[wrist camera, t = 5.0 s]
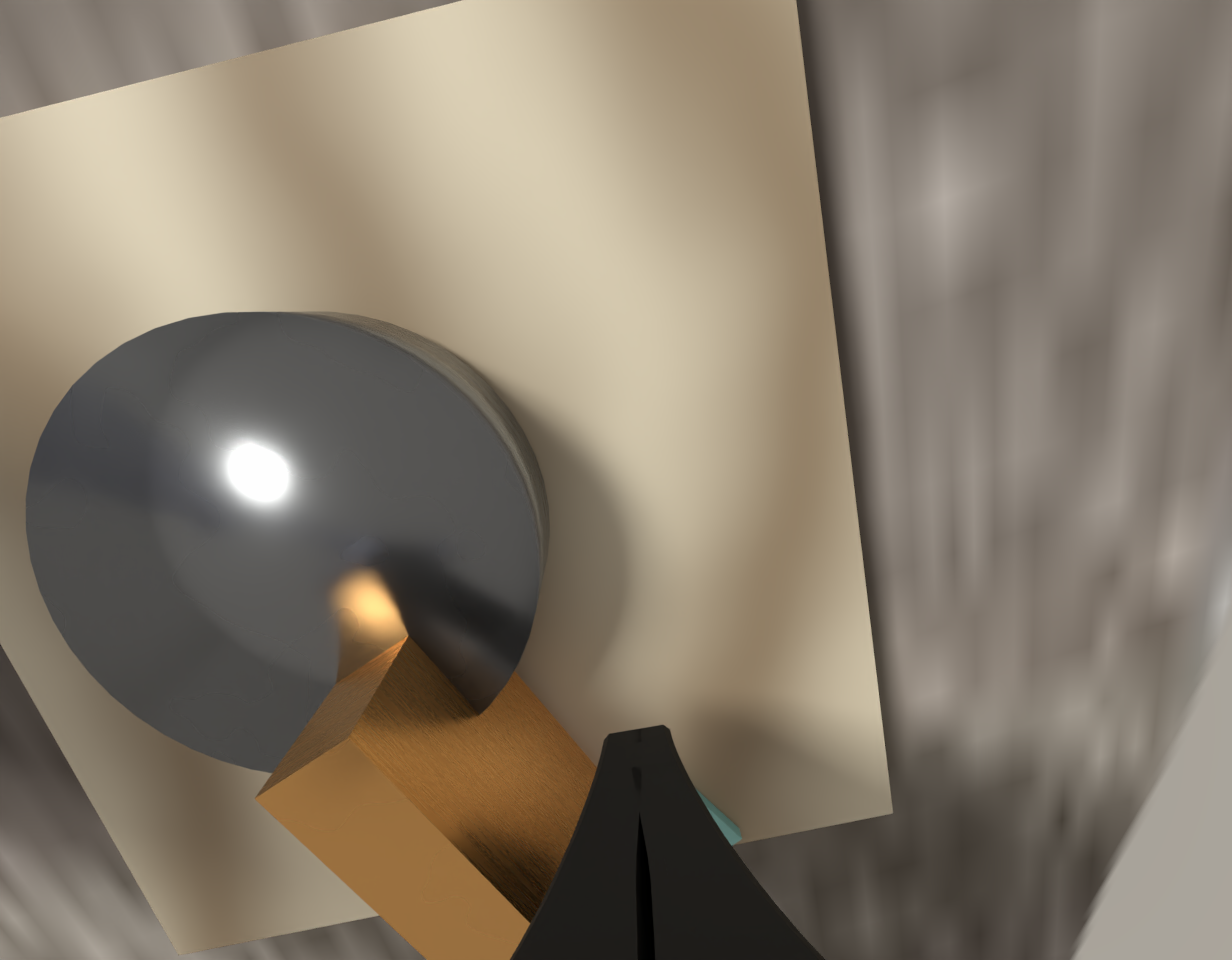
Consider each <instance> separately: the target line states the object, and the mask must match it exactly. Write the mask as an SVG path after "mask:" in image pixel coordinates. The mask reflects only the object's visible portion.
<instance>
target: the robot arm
mask: <svg viewBox="0 0 1232 960" xmlns="http://www.w3.org/2000/svg"><path fill="white" fill-rule="evenodd" d="M510 960H825V959H824V958H823V957H822V956H821V955H820V954H819V953H818V952H817V950H816V949H815V948H814V947H813V946H812V945H811V944H810V943H809V942H808V941H807V940H806V939H805V938H804V937H803V935H802V934H801V933H800V932H799V931H798V930H797V929H796V927H795V926H794V925H793V924H792V923H791V922H790V920H789V919H788V918H787V917H786V916H785V915H784V913H783V912H782V911H781V910H780V909H779V908H778V906H777V905H776V904H775V903H774V901H773V900H772V899H771V898H770V896H769V895H768V894H767V893H766V891H765V890H764V889H763V888H762V886H761V885H760V884H759V883H758V881H757V880H756V879H755V877H754V876H753V875H752V873H751V872H750V871H749V869H748V868H747V867H746V865H745V864H744V863H743V861H742V860H741V859H740V857H739V856H738V854H737V853H736V851H735V850H734V849H733V847H732V846H731V844H730V843H729V841H728V840H727V838H726V837H725V836H724V834H723V833H722V831H721V830H720V828H719V826H718V825H717V823H716V822H715V820H714V819H713V817H712V815H711V814H710V812H709V810H708V809H707V807H706V805H705V804H704V802H703V800H702V799H701V797H700V795H699V794H698V792H697V790H696V789H695V787H694V785H693V783H692V781H691V779H690V778H689V776H688V774H687V772H686V770H685V768H684V765H683V763H682V761H681V759H680V757H679V755H678V752H677V750H676V747H675V745H674V742H673V739H672V735H671V731H670V729H669V728H668V727H666V726H665V725H658V726H652V727H646V728H640V729H634V730H628V731H622V732H616V733H610V734H608V735H607V737H606V738H605V739H604V741H603V746H602V751H601V755H600V759H599V762H598V766H597V769H596V772H595V776H594V779H593V782H592V785H591V788H590V791H589V794H588V797H587V799H586V802H585V804H584V807H583V810H582V812H581V815H580V818H579V820H578V823H577V825H576V828H575V831H574V833H573V835H572V838H571V840H570V843H569V845H568V847H567V849H566V851H565V854H564V856H563V858H562V860H561V862H560V865H559V867H558V869H557V871H556V874H555V876H554V878H553V880H552V882H551V884H550V886H549V888H548V890H547V892H546V894H545V896H544V898H543V900H542V902H541V904H540V906H539V908H538V910H537V912H536V914H535V916H534V918H533V920H532V921H531V923H530V925H529V927H528V929H527V930H526V932H525V934H524V936H523V938H522V940H521V941H520V943H519V945H518V947H517V948H516V950H515V952H514V953H513V955H512V957H511V958H510Z"/></svg>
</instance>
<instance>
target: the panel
mask: <svg viewBox="0 0 1232 960" xmlns="http://www.w3.org/2000/svg"><path fill="white" fill-rule="evenodd" d="M311 311H330V312H338V313H347V314H355V315H361V316H365V317H369V318H373V319H377V320H381V321H385V322H389V323H391V324H394V325H396V326H399V327H401V328H404V329H407V330H409V331H412V332H414V333H417V334H419V335H420V336H422V337H424V338H426V339H428V340H430V341H432V342H433V343H435V344H437V345H439V346H441V347H443V348H444V349H446V350H447V351H448V352H450V353H451V354H453V355H454V356H455V357H457V358H458V359H460V360H461V361H462V362H464V363H465V364H467V365H468V366H469V367H470V368H471V369H472V370H473V371H475V372H476V373H477V374H478V375H479V376H480V377H481V378H482V379H483V380H484V381H485V382H487V383H488V384H489V385H490V386H491V388H492V389H493V390H494V391H495V392H496V393H497V395H498V396H499V397H500V398H501V399H502V401H503V402H504V403H505V404H506V405H507V406H508V408H509V409H510V411H511V412H512V414H513V415H514V417H515V418H516V420H517V421H518V423H519V424H520V426H521V428H522V429H523V431H524V433H525V435H526V437H527V439H528V441H529V443H530V445H531V447H532V449H533V451H534V453H535V455H536V458H537V461H538V464H539V467H540V470H541V473H542V476H543V479H544V484H545V489H546V494H547V500H548V505H549V522H550V537H549V547H548V557H547V562H546V566H545V571H544V576H543V580H542V585H541V590H540V594H539V599H538V604H537V608H536V612H535V617H534V621H533V625H532V629H531V633H530V637H529V639H528V642H527V644H526V647H525V649H524V652H523V654H522V657H521V659H520V662H519V663H518V665H517V667H516V669H515V670H514V671H515V672H516V673H517V674H518V676H519V677H520V678H521V679H522V680H523V681H524V683H525V684H526V685H527V686H528V687H529V688H530V690H531V691H532V692H533V693H534V694H535V695H536V697H537V698H538V699H539V700H540V701H541V702H542V704H543V705H544V706H545V707H546V708H547V710H548V711H549V712H550V713H551V714H552V715H553V717H554V718H555V719H556V720H557V721H558V722H559V724H560V725H561V726H562V727H563V728H564V729H565V731H566V732H567V733H568V734H569V735H570V736H571V738H572V739H573V740H574V741H575V742H576V744H577V745H578V746H579V747H580V748H581V749H582V751H583V752H584V753H585V754H586V755H587V756H588V758H589V759H590V760H591V761H592V762H593V763H594V765H595V766H596V767H597V766H598V762H599V759H600V755H601V751H602V746H603V741H604V739H605V738H606V737H607V735H608V734H610V733H616V732H622V731H628V730H634V729H640V728H646V727H652V726H658V725H665V726H666V727H668V728H669V729H670V731H671V735H672V739H673V742H674V745H675V747H676V750H677V752H678V755H679V757H680V759H681V761H682V763H683V765H684V768H685V770H686V772H687V774H688V776H689V778H690V779H691V781H692V783H693V785H694V787H695V788H696V789H697V790H698V791H699V792H700V793H701V794H702V795H703V796H704V797H706V798H707V799H708V800H709V801H710V802H711V803H712V804H713V805H714V806H715V807H716V808H718V809H719V810H720V811H721V812H722V813H723V814H724V815H725V816H726V817H727V818H729V819H730V820H731V821H732V822H733V823H734V824H735V825H736V826H737V827H738V828H739V829H740V833H741V837H742V839H741V840H740V841H738V842H737V843H736V844H734V845H737V844H742V843H747V842H752V841H757V840H762V839H767V838H772V837H777V836H782V835H787V834H792V833H797V832H802V831H807V830H812V829H817V828H823V827H828V826H833V825H838V824H843V823H848V822H853V821H858V820H863V819H868V818H873V817H878V816H883V815H888V814H893V808H892V800H891V792H890V783H889V775H888V766H887V758H886V750H885V741H884V733H883V725H882V716H881V708H880V699H879V691H878V683H877V674H876V666H875V657H874V649H873V641H872V632H871V624H870V615H869V607H868V599H867V590H866V582H865V574H864V565H863V557H862V548H861V540H860V532H859V523H858V515H857V506H856V498H855V490H854V481H853V473H852V464H851V456H850V448H849V439H848V431H847V423H846V414H845V406H844V397H843V389H842V381H841V372H840V364H839V355H838V347H837V339H836V330H835V322H834V313H833V305H832V297H831V288H830V280H829V272H828V263H827V255H826V246H825V238H824V230H823V221H822V213H821V204H820V196H819V188H818V179H817V171H816V163H815V154H814V146H813V137H812V129H811V121H810V112H809V104H808V95H807V87H806V79H805V70H804V62H803V53H802V45H801V37H800V28H799V20H798V12H797V3H796V0H463V1H459V2H455V3H451V4H447V5H443V6H439V7H435V8H431V9H427V10H423V11H420V12H416V13H412V14H408V15H404V16H400V17H396V18H392V19H388V20H384V21H380V22H376V23H372V24H368V25H364V26H360V27H357V28H353V29H349V30H345V31H341V32H337V33H333V34H329V35H325V36H321V37H317V38H313V39H309V40H305V41H301V42H297V43H293V44H290V45H286V46H282V47H278V48H274V49H270V50H266V51H262V52H258V53H254V54H250V55H246V56H242V57H238V58H234V59H230V60H227V61H223V62H219V63H215V64H211V65H207V66H203V67H199V68H195V69H191V70H187V71H183V72H179V73H175V74H171V75H167V76H163V77H160V78H156V79H152V80H148V81H144V82H140V83H136V84H132V85H128V86H124V87H120V88H116V89H112V90H108V91H104V92H100V93H97V94H93V95H89V96H85V97H81V98H77V99H73V100H69V101H65V102H61V103H57V104H53V105H49V106H45V107H41V108H37V109H33V110H30V111H26V112H22V113H18V114H14V115H10V116H6V117H2V118H0V644H1V646H2V648H3V649H4V651H5V653H6V655H7V656H8V658H9V660H10V662H11V663H12V665H13V667H14V669H15V670H16V672H17V674H18V676H19V677H20V679H21V681H22V683H23V684H24V686H25V688H26V690H27V691H28V693H29V695H30V696H31V698H32V700H33V702H34V703H35V705H36V707H37V709H38V710H39V712H40V714H41V716H42V717H43V719H44V721H45V723H46V724H47V726H48V728H49V730H50V731H51V733H52V735H53V737H54V738H55V740H56V742H57V744H58V745H59V747H60V749H61V751H62V752H63V754H64V756H65V758H66V759H67V761H68V763H69V765H70V766H71V768H72V770H73V772H74V773H75V775H76V777H77V779H78V780H79V782H80V784H81V786H82V787H83V789H84V791H85V793H86V794H87V796H88V798H89V800H90V801H91V803H92V805H93V807H94V808H95V810H96V812H97V814H98V815H99V817H100V819H101V820H102V822H103V824H104V826H105V827H106V829H107V831H108V833H109V834H110V836H111V838H112V840H113V841H114V843H115V845H116V847H117V848H118V850H119V852H120V854H121V855H122V857H123V859H124V861H125V862H126V864H127V866H128V868H129V869H130V871H131V873H132V875H133V876H134V878H135V880H136V882H137V883H138V885H139V887H140V889H141V890H142V892H143V894H144V896H145V897H146V899H147V901H148V903H149V904H150V906H151V908H152V910H153V911H154V913H155V915H156V917H157V918H158V920H159V922H160V924H161V925H162V927H163V929H164V931H165V932H166V934H167V936H168V938H169V939H170V941H171V943H172V944H173V946H174V948H175V950H176V951H177V953H178V955H183V954H188V953H193V952H198V951H203V950H208V949H213V948H218V947H223V946H229V945H234V944H239V943H244V942H249V941H254V940H259V939H264V938H269V937H274V936H279V935H284V934H289V933H294V932H299V931H304V930H309V929H314V928H319V927H324V926H329V925H334V924H339V923H344V922H349V921H354V920H359V919H364V918H369V917H374V916H379V915H378V914H377V913H376V912H375V911H374V910H373V909H372V908H371V907H370V906H369V905H368V904H367V903H366V902H364V901H363V900H362V899H361V898H360V897H359V896H358V895H357V894H356V893H355V892H354V891H353V890H352V889H351V888H349V887H348V886H347V885H346V884H345V883H344V882H343V881H342V880H341V879H340V878H339V877H338V876H337V875H336V874H334V873H333V872H332V871H331V870H330V869H329V868H328V867H327V866H326V865H325V864H324V863H323V862H322V861H321V860H319V859H318V858H317V857H316V856H315V855H314V854H313V853H312V852H311V851H310V850H309V849H308V848H307V847H305V846H304V845H303V844H302V843H301V842H300V841H299V840H298V839H297V838H296V837H295V836H294V835H293V834H292V833H290V832H289V831H288V830H287V829H286V828H285V827H284V826H283V825H282V824H281V823H280V822H279V821H278V820H277V819H275V818H274V817H273V816H272V815H271V814H270V813H269V812H268V811H267V810H266V809H265V808H264V807H263V806H262V805H260V804H259V803H258V802H257V801H256V800H255V799H254V798H255V797H256V796H257V794H258V793H259V791H260V790H261V789H262V787H263V786H264V784H265V783H266V782H267V780H268V779H269V777H270V776H271V774H272V773H268V772H263V771H257V770H251V769H248V768H244V767H241V766H237V765H234V764H230V763H227V762H223V761H220V760H218V759H215V758H213V757H210V756H208V755H205V754H203V753H200V752H198V751H195V750H193V749H190V748H189V747H187V746H185V745H183V744H181V743H179V742H177V741H175V740H173V739H171V738H169V737H168V736H166V735H164V734H162V733H161V732H159V731H158V730H156V729H155V728H153V727H152V726H150V725H149V724H147V723H145V722H144V721H142V720H141V719H139V718H138V717H136V716H135V715H134V714H133V713H132V712H130V711H129V710H128V709H127V708H126V707H124V706H123V705H122V704H121V703H119V702H118V701H117V700H116V699H115V698H113V697H112V696H111V695H110V694H109V693H108V692H107V691H106V690H105V689H104V688H103V687H102V686H101V685H100V684H99V683H98V682H97V681H96V680H95V679H94V677H93V676H92V675H91V674H90V673H89V672H88V671H87V670H86V668H85V667H84V666H83V665H82V663H81V662H80V661H79V659H78V658H77V657H76V656H75V654H74V653H73V652H72V650H71V649H70V648H69V646H68V645H67V643H66V641H65V640H64V638H63V636H62V635H61V633H60V631H59V630H58V628H57V626H56V625H55V623H54V622H53V620H52V617H51V615H50V613H49V611H48V609H47V606H46V604H45V602H44V600H43V598H42V595H41V593H40V591H39V587H38V584H37V581H36V577H35V574H34V571H33V567H32V564H31V560H30V554H29V547H28V541H27V535H26V493H27V486H28V479H29V472H30V467H31V464H32V461H33V457H34V454H35V451H36V448H37V445H38V442H39V438H40V436H41V435H42V433H43V431H44V429H45V427H46V425H47V423H48V421H49V419H50V417H51V415H52V413H53V411H54V409H55V408H56V407H57V405H58V404H59V403H60V401H61V400H62V399H63V397H64V396H65V395H66V393H67V392H68V391H69V389H70V388H71V386H72V385H73V384H74V383H75V382H76V381H77V380H78V379H79V378H80V377H81V376H82V375H83V374H84V373H86V372H87V371H88V370H89V369H90V368H91V367H92V366H93V365H94V364H95V363H96V362H97V361H99V360H100V359H102V358H103V357H104V356H106V355H107V354H109V353H110V352H112V351H113V350H115V349H116V348H117V347H119V346H120V345H122V344H123V343H125V342H127V341H129V340H131V339H133V338H136V337H138V336H140V335H142V334H144V333H146V332H148V331H150V330H152V329H154V328H157V327H161V326H164V325H167V324H170V323H174V322H177V321H180V320H183V319H187V318H191V317H198V316H204V315H211V314H217V313H224V312H311Z"/></svg>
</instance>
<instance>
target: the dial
mask: <svg viewBox="0 0 1232 960" xmlns="http://www.w3.org/2000/svg"><path fill="white" fill-rule="evenodd" d="M26 535H27V541H28V547H29V554H30V560H31V564H32V567H33V571H34V574H35V577H36V581H37V584H38V587H39V591H40V593H41V595H42V598H43V600H44V602H45V604H46V606H47V609H48V611H49V613H50V615H51V617H52V620H53V622H54V623H55V625H56V626H57V628H58V630H59V631H60V633H61V635H62V636H63V638H64V640H65V641H66V643H67V645H68V646H69V648H70V649H71V650H72V652H73V653H74V654H75V656H76V657H77V658H78V659H79V661H80V662H81V663H82V665H83V666H84V667H85V668H86V670H87V671H88V672H89V673H90V674H91V675H92V676H93V677H94V679H95V680H96V681H97V682H98V683H99V684H100V685H101V686H102V687H103V688H104V689H105V690H106V691H107V692H108V693H109V694H110V695H111V696H112V697H113V698H115V699H116V700H117V701H118V702H119V703H121V704H122V705H123V706H124V707H126V708H127V709H128V710H129V711H130V712H132V713H133V714H134V715H135V716H136V717H138V718H139V719H141V720H142V721H144V722H145V723H147V724H149V725H150V726H152V727H153V728H155V729H156V730H158V731H159V732H161V733H162V734H164V735H166V736H168V737H169V738H171V739H173V740H175V741H177V742H179V743H181V744H183V745H185V746H187V747H189V748H190V749H193V750H195V751H198V752H200V753H203V754H205V755H208V756H210V757H213V758H215V759H218V760H220V761H223V762H227V763H230V764H234V765H237V766H241V767H244V768H248V769H251V770H257V771H263V772H268V773H272V774H271V776H270V777H269V779H268V780H267V782H266V783H265V784H264V786H263V787H262V789H261V790H260V791H259V793H258V794H257V796H256V797H255V798H254V799H255V800H256V801H257V802H258V803H259V804H260V805H262V806H263V807H264V808H265V809H266V810H267V811H268V812H269V813H270V814H271V815H272V816H273V817H274V818H275V819H277V820H278V821H279V822H280V823H281V824H282V825H283V826H284V827H285V828H286V829H287V830H288V831H289V832H290V833H292V834H293V835H294V836H295V837H296V838H297V839H298V840H299V841H300V842H301V843H302V844H303V845H304V846H305V847H307V848H308V849H309V850H310V851H311V852H312V853H313V854H314V855H315V856H316V857H317V858H318V859H319V860H321V861H322V862H323V863H324V864H325V865H326V866H327V867H328V868H329V869H330V870H331V871H332V872H333V873H334V874H336V875H337V876H338V877H339V878H340V879H341V880H342V881H343V882H344V883H345V884H346V885H347V886H348V887H349V888H351V889H352V890H353V891H354V892H355V893H356V894H357V895H358V896H359V897H360V898H361V899H362V900H363V901H364V902H366V903H367V904H368V905H369V906H370V907H371V908H372V909H373V910H374V911H375V912H376V913H377V914H378V915H379V916H381V917H382V918H383V919H384V920H385V921H386V922H387V923H388V924H389V925H390V926H391V927H392V928H393V929H395V930H396V931H397V932H398V933H399V934H400V935H401V936H402V937H403V938H404V939H405V940H406V941H407V942H408V943H410V944H411V945H412V946H413V947H414V948H415V949H416V950H417V951H418V952H419V953H420V954H421V955H422V956H423V957H425V958H426V959H427V960H510V958H511V957H512V955H513V953H514V952H515V950H516V948H517V947H518V945H519V943H520V941H521V940H522V938H523V936H524V934H525V932H526V930H527V929H528V927H529V925H530V923H531V921H532V920H533V918H534V916H535V914H536V912H537V910H538V908H539V906H540V904H541V902H542V900H543V898H544V896H545V894H546V892H547V890H548V888H549V886H550V884H551V882H552V880H553V878H554V876H555V874H556V871H557V869H558V867H559V865H560V862H561V860H562V858H563V856H564V854H565V851H566V849H567V847H568V845H569V843H570V840H571V838H572V835H573V833H574V831H575V828H576V825H577V823H578V820H579V818H580V815H581V812H582V810H583V807H584V804H585V802H586V799H587V797H588V794H589V791H590V788H591V785H592V782H593V779H594V776H595V772H596V769H597V767H596V766H595V765H594V763H593V762H592V761H591V760H590V759H589V758H588V756H587V755H586V754H585V753H584V752H583V751H582V749H581V748H580V747H579V746H578V745H577V744H576V742H575V741H574V740H573V739H572V738H571V736H570V735H569V734H568V733H567V732H566V731H565V729H564V728H563V727H562V726H561V725H560V724H559V722H558V721H557V720H556V719H555V718H554V717H553V715H552V714H551V713H550V712H549V711H548V710H547V708H546V707H545V706H544V705H543V704H542V702H541V701H540V700H539V699H538V698H537V697H536V695H535V694H534V693H533V692H532V691H531V690H530V688H529V687H528V686H527V685H526V684H525V683H524V681H523V680H522V679H521V678H520V677H519V676H518V674H517V673H516V672H515V671H514V670H515V669H516V667H517V665H518V663H519V662H520V659H521V657H522V654H523V652H524V649H525V647H526V644H527V642H528V639H529V637H530V633H531V629H532V625H533V621H534V617H535V612H536V608H537V604H538V599H539V594H540V590H541V585H542V580H543V576H544V571H545V566H546V562H547V557H548V547H549V537H550V522H549V505H548V500H547V494H546V489H545V484H544V479H543V476H542V473H541V470H540V467H539V464H538V461H537V458H536V455H535V453H534V451H533V449H532V447H531V445H530V443H529V441H528V439H527V437H526V435H525V433H524V431H523V429H522V428H521V426H520V424H519V423H518V421H517V420H516V418H515V417H514V415H513V414H512V412H511V411H510V409H509V408H508V406H507V405H506V404H505V403H504V402H503V401H502V399H501V398H500V397H499V396H498V395H497V393H496V392H495V391H494V390H493V389H492V388H491V386H490V385H489V384H488V383H487V382H485V381H484V380H483V379H482V378H481V377H480V376H479V375H478V374H477V373H476V372H475V371H473V370H472V369H471V368H470V367H469V366H468V365H467V364H465V363H464V362H462V361H461V360H460V359H458V358H457V357H455V356H454V355H453V354H451V353H450V352H448V351H447V350H446V349H444V348H443V347H441V346H439V345H437V344H435V343H433V342H432V341H430V340H428V339H426V338H424V337H422V336H420V335H419V334H417V333H414V332H412V331H409V330H407V329H404V328H401V327H399V326H396V325H394V324H391V323H389V322H385V321H381V320H377V319H373V318H369V317H365V316H361V315H355V314H347V313H338V312H330V311H311V312H224V313H217V314H211V315H204V316H198V317H191V318H187V319H183V320H180V321H177V322H174V323H170V324H167V325H164V326H161V327H157V328H154V329H152V330H150V331H148V332H146V333H144V334H142V335H140V336H138V337H136V338H133V339H131V340H129V341H127V342H125V343H123V344H122V345H120V346H119V347H117V348H116V349H115V350H113V351H112V352H110V353H109V354H107V355H106V356H104V357H103V358H102V359H100V360H99V361H97V362H96V363H95V364H94V365H93V366H92V367H91V368H90V369H89V370H88V371H87V372H86V373H84V374H83V375H82V376H81V377H80V378H79V379H78V380H77V381H76V382H75V383H74V384H73V385H72V386H71V388H70V389H69V391H68V392H67V393H66V395H65V396H64V397H63V399H62V400H61V401H60V403H59V404H58V405H57V407H56V408H55V409H54V411H53V413H52V415H51V417H50V419H49V421H48V423H47V425H46V427H45V429H44V431H43V433H42V435H41V436H40V438H39V442H38V445H37V448H36V451H35V454H34V457H33V461H32V464H31V467H30V472H29V479H28V486H27V493H26Z"/></svg>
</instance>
